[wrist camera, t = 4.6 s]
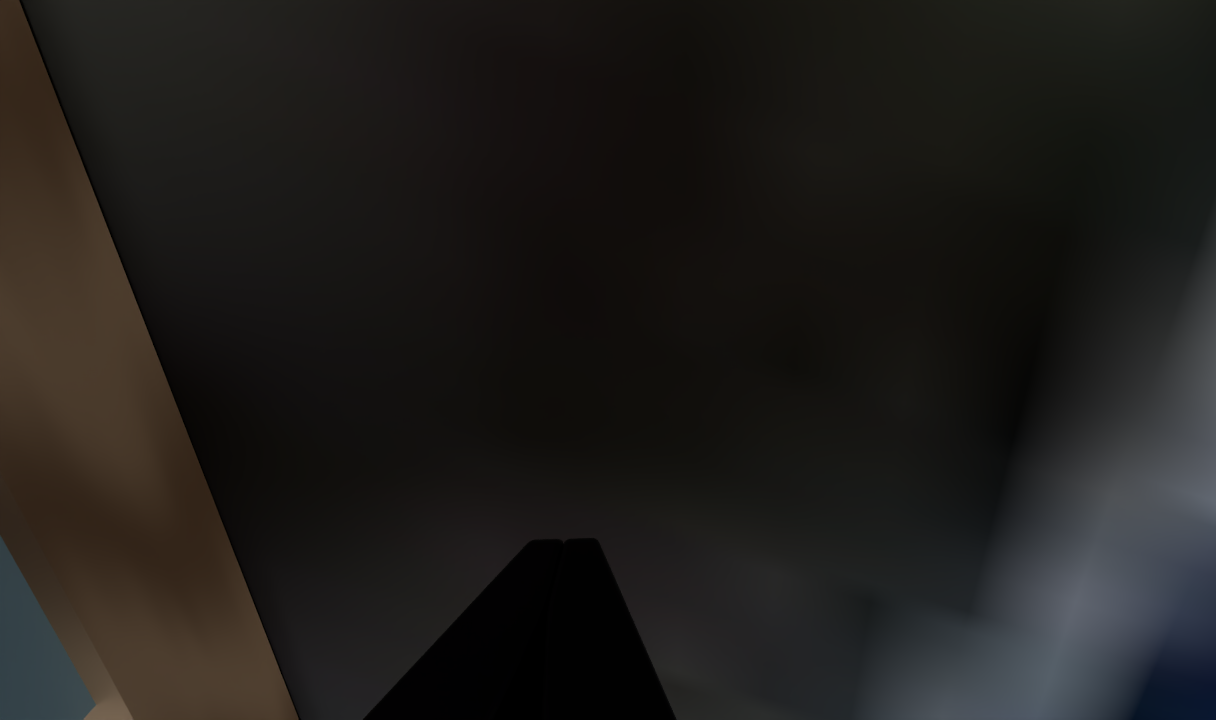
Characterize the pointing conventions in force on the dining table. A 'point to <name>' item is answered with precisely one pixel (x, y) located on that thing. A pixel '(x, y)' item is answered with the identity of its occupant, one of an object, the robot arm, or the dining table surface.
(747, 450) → the dining table surface
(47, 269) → the trap deck
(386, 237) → the dining table surface
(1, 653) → the teal block
